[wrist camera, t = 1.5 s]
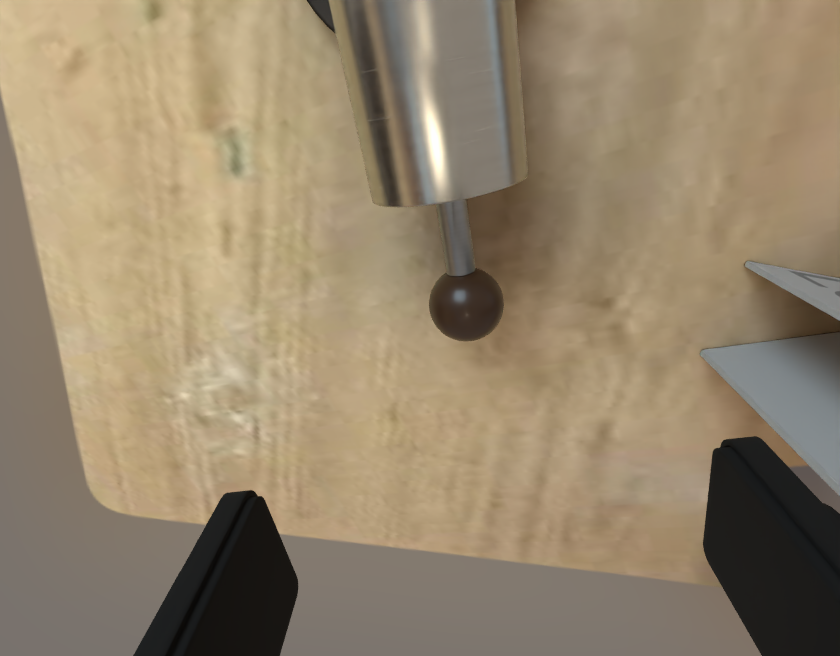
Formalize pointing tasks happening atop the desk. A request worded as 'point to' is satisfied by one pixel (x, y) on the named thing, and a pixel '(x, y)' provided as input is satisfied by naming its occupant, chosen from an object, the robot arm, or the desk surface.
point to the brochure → (794, 375)
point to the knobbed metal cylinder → (438, 125)
